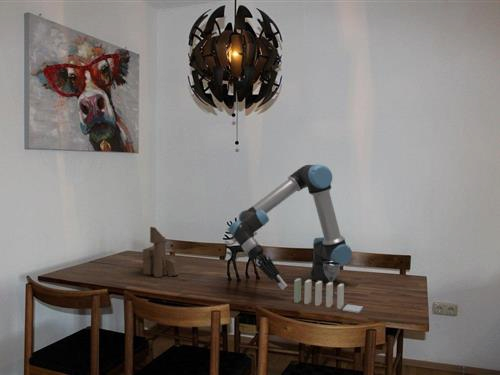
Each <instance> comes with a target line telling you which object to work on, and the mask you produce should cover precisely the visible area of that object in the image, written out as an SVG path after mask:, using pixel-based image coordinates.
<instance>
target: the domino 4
mask: <svg viewBox="0 0 500 375" xmlns="http://www.w3.org/2000/svg"><path fill="white" fill-rule="evenodd" d="M325 287H326V289H325V292H326V294H325V308H331V307H332V306H333V300H334V299H333V298H334V295H333V292H334V281H333V282H327V283H326V285H325Z"/></svg>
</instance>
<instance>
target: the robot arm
mask: <svg viewBox="0 0 500 375" xmlns="http://www.w3.org/2000/svg"><path fill="white" fill-rule="evenodd" d="M332 182H333V174H332V171H331V169H329V168H328V166H326V165H322V164H319V163H318V164H317V163H316V164H305V165H303V166H301V167H299V168H298V169H297V170H296V171H294V172H293V173H292V174H290V175H289V176H288V177H287V180H285V181H284V182H282V184H280V185H279V186H277V187H276V188H275V189H274V190H272V191H271V192H269V193H268V194H267V195H266V196H264V197H263V198H261V199H260V200H259V201H257V202H256V203H255V204H253V205H252V206H251V207H249V208H248V209H245V210H242V211H240V213H239V214H238V220H236V221H234V222H233V223H231V225H229V227H228V233H230V234H231V236H232V238H233V239H234V240H235V241H236V243H237V244H238V245H239V246H240V247H241V248H242V250H243V251H244V252H245V253H246V254H247V256H248V257H249V259H250V260H252V261H253V260H254V261H255V263H254V264H255V267H257V268H259V269H260V270H261V271H262V273H264V274H265V275H266V276H267V278H269V279H270V280H271V281H272V280H274V282H275V283H276V285H278V287H279V288H280V289H281V290H282V291H283V290H285V288H286V287H288V284H287V283H286V282H285V281H284V279H282V277H281V276H280V271H279V270H278V268H277V266H276V265H275V264H274V262H273V261H272V259H271V257H270V256H266V255H265V253H264V248H263V247H262V246H261V245H260V244H259V241H257V239H256V238H255V237H254V236H253V235H254V233H257V231H258V230H260V229H261V228H263V226H265V225H266V224H267V223H268V222H269V221H270V218H269V216H268V214H269V213H270V212H271V211H272V210H273V209H274V208H276V207H277V206H279V205H280V204H281V203H283V202H284V201H285V200H286V199H288V198H289V197H291V195H293V194H294V193H296V192H300V191H302V190H304V189H305V188H307V190H308V193H309V195H311V196H312V198H313V200H314V206H315V207H316V208H315V209H316V212H317V216H318V220H319V224H320V227H321V232H322V235H323V237H320V236H319V237H314V238H313V246H312V248H313V249H312V250H313V251H312V252H313V256H312V259H313V260H312V262H313V263H312V267H311V269H310V272H309V280H312V281H315V282H318V281H322V283H325V282H326V283H329V282H330V281H329V279H328V278H327V277H326V275H325V274H324V269H323V262H326V261H333V262H339V263H340V267H344V266H346V265H347V264H349V263H350V261H351V260H352V256H353V252H352V249H351V247H350V246H349V245H348V244H347V243H346V239H345V237H344V236H343V235H341V232H340V228H339V224H338V220H337V216H336V212H335V208H334V205H333V201H332V196H331V193H330V191H331V189H332V185H331V184H332ZM337 280H338V276H337V277H336V278H335V279H334V280H333V282H336V281H337Z"/></svg>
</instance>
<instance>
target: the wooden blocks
mask: <svg viewBox="0 0 500 375" xmlns="http://www.w3.org/2000/svg"><path fill="white" fill-rule="evenodd" d="M149 232H150V233H149V235H150V236H149V238H150V239H149V241H150V242H149V243H150V244H153V245H152V246H150V247H146V248H144V249H142V261H143V262H142V267H143V268H142V271H143V272H142V273H143V274H142V275H153V276H154V277H155V278H160V277H163V276H168V277H175V276H176V275H180V270H179V266H178V265H179V264H178V261H177V260H176V259H174V258H172V257H171V258H167V254H166V253H167V252H166V243H167V242H168V240H167V239H166V236H163V235H162V234H161V232H160V231H159V230H158V229H157V227H154V226H150V227H149Z"/></svg>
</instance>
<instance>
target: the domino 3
mask: <svg viewBox="0 0 500 375" xmlns="http://www.w3.org/2000/svg"><path fill="white" fill-rule="evenodd" d="M314 290H315V292H314V298H315V299H314V306H316V307H318V306H320V305H321V304H323V282H322V281H315V285H314Z"/></svg>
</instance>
